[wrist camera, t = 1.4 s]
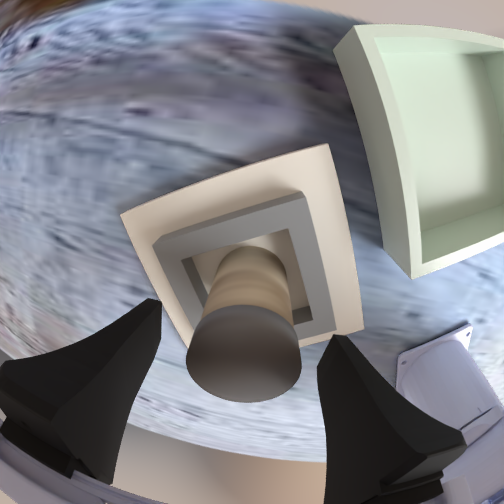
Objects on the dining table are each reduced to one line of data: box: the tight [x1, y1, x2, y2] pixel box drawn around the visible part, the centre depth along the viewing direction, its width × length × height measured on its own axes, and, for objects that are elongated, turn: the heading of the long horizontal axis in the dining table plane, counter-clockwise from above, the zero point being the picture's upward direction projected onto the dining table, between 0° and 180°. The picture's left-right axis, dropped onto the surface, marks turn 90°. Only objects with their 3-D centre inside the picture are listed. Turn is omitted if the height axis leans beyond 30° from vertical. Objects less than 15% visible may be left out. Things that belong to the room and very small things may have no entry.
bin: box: [333, 24, 504, 280], centre depth 11 cm, size 12×12×4 cm
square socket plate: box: [120, 143, 364, 348], centre depth 16 cm, size 12×12×3 cm
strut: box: [186, 246, 302, 403], centre depth 13 cm, size 4×4×7 cm
